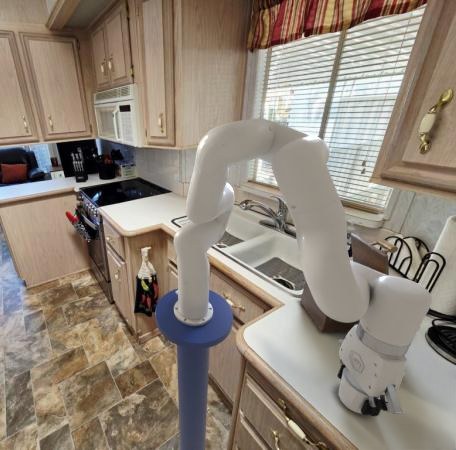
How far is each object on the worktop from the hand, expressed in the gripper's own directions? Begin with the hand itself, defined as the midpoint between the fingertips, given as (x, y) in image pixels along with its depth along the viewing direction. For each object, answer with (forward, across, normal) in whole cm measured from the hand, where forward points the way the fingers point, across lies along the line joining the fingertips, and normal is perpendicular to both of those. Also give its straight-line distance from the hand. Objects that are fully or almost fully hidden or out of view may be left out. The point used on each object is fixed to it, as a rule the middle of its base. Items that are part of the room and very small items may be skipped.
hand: (356, 393), depth 55 cm
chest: (+2, -25, +12) cm, 28 cm away
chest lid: (-16, -25, +16) cm, 34 cm away
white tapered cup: (+2, 0, 0) cm, 2 cm away
